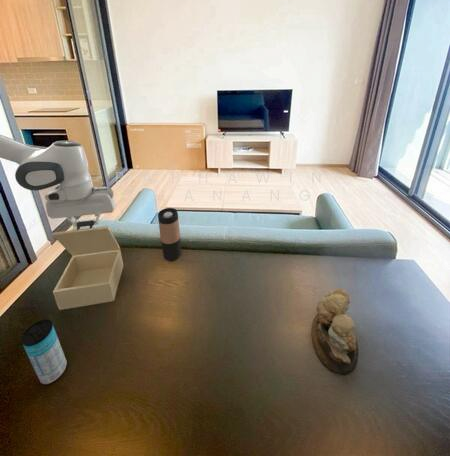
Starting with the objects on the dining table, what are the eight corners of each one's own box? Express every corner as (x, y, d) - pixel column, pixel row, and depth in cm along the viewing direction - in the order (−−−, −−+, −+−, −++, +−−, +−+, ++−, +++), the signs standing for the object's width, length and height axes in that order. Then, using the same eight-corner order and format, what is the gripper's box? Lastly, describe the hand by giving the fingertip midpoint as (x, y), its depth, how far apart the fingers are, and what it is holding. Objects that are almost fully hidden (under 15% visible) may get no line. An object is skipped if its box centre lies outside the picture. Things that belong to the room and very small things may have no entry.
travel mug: (159, 258, 98) (153, 216, 91) (169, 246, 105) (165, 206, 98) (175, 263, 95) (170, 220, 88) (185, 250, 102) (181, 209, 95)
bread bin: (113, 301, 81) (109, 283, 78) (59, 310, 78) (52, 292, 75) (123, 265, 95) (120, 249, 92) (77, 272, 92) (72, 255, 90)
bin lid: (107, 228, 80) (110, 214, 84) (52, 234, 77) (57, 220, 81) (119, 249, 92) (121, 237, 95) (72, 255, 89) (75, 242, 93)
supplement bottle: (63, 353, 66) (49, 314, 61) (70, 371, 62) (55, 331, 57) (37, 372, 62) (19, 332, 57) (42, 392, 58) (23, 351, 53)
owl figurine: (366, 387, 58) (381, 339, 52) (314, 374, 61) (323, 327, 55) (349, 316, 75) (359, 273, 69) (309, 308, 77) (315, 266, 71)
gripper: (114, 182, 84) (120, 216, 89) (48, 187, 81) (59, 222, 85) (109, 190, 78) (116, 226, 83) (38, 196, 75) (50, 234, 80)
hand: (86, 224), depth 84 cm, fingers closed on bin lid, 5 cm apart
